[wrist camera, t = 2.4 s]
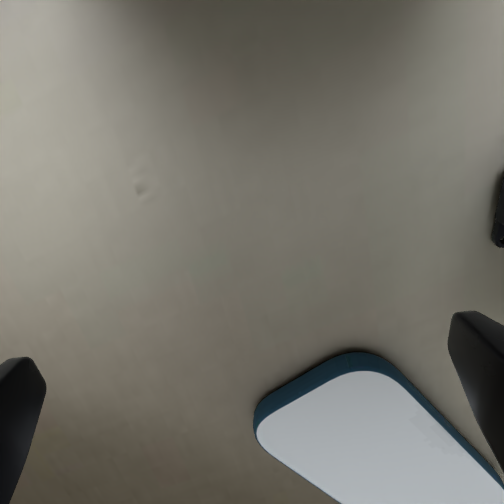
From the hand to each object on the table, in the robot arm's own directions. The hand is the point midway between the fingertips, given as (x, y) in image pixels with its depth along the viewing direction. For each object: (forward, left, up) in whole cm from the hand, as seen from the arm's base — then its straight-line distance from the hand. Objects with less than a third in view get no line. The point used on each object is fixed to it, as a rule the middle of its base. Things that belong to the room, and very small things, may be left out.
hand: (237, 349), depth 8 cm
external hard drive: (-9, +25, -13) cm, 30 cm away
